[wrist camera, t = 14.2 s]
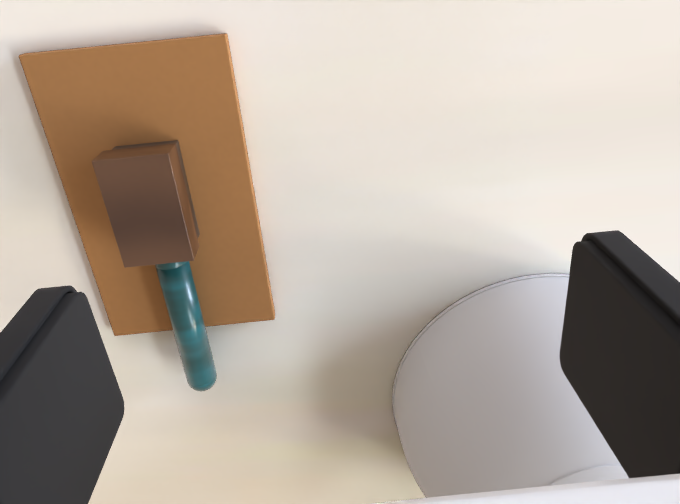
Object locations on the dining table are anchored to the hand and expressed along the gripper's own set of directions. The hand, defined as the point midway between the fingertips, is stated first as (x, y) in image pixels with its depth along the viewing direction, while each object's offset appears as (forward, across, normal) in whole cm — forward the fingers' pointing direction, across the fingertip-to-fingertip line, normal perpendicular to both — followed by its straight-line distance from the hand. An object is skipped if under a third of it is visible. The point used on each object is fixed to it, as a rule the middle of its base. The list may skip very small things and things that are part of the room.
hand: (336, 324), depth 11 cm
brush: (+25, +11, +12) cm, 30 cm away
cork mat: (+26, +11, +7) cm, 29 cm away
